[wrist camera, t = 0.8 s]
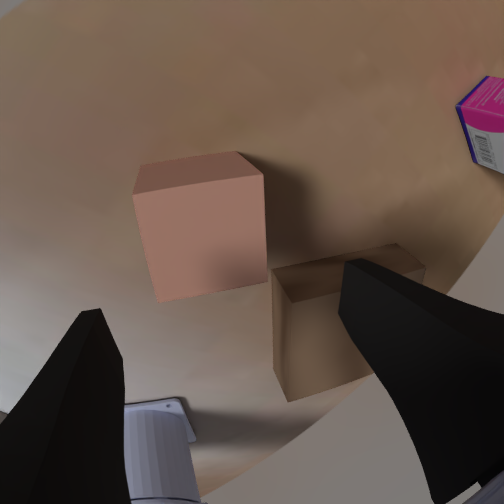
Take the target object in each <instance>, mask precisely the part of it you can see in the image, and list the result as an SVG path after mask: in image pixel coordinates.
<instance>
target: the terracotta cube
mask: <svg viewBox="0 0 504 504" xmlns="http://www.w3.org/2000/svg"><path fill="white" fill-rule="evenodd" d="M132 196H133V201H134V206H135V211H136V216H137V220H138V225H139V230H140V234H141V238H142V243H143V247H144V251H145V255H146V259H147V263H148V267H149V271H150V275H151V279H152V282H153V286H154V290H155V293H156V297H157V300H158V303H161V302H166V301H172V300H177V299H183V298H188V297H193V296H199V295H204V294H209V293H214V292H219V291H225V290H230V289H235V288H240V287H245V286H250V285H255V284H259V283H264V282H268V281H267V253H266V227H265V202H264V179H263V174H262V173H261V172H260V171H259V170H258V169H257V168H255V167H254V166H253V165H252V164H251V163H249V162H248V161H247V160H246V159H245V158H243V157H242V156H241V155H240V154H239V153H237V152H236V151H232V152H224V153H216V154H208V155H201V156H194V157H188V158H181V159H175V160H169V161H163V162H158V163H152V164H147V165H141V166H140V169H139V173H138V176H137V180H136V183H135V187H134V190H133V194H132Z"/></svg>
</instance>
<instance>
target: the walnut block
mask: <svg viewBox="0 0 504 504" xmlns="http://www.w3.org/2000/svg"><path fill="white" fill-rule="evenodd" d="M358 258H363V259H366V260H369V261H371V262H374V263H376V264H378V265H381V266H383V267H385V268H387V269H390V270H392V271H394V272H396V273H398V274H400V275H402V276H405V277H407V278H409V279H411V280H413V281H415V282H417V283H420V284H422V281H423V278H424V274H425V270H426V267H425V266H424V265H423V264H421V263H420V262H419V261H418V260H417V259H415V258H414V257H413V256H412V255H410V254H409V253H408V252H407V251H405V250H404V249H403V248H402V247H400V246H399V245H398V244H396V243H395V244H390V245H385V246H381V247H376V248H372V249H367V250H362V251H358V252H353V253H348V254H344V255H339V256H334V257H329V258H324V259H320V260H315V261H310V262H305V263H300V264H295V265H290V266H285V267H280V268H275V269H271V273H272V316H273V369H274V372H275V374H276V376H277V379H278V381H279V383H280V386H281V388H282V390H283V392H284V395H285V397H286V399H287V402H291V401H294V400H298V399H301V398H304V397H308V396H311V395H314V394H317V393H320V392H323V391H326V390H329V389H332V388H335V387H338V386H341V385H343V384H346V383H349V382H352V381H354V380H357V379H360V378H362V377H365V376H368V375H370V374H373V373H374V371H373V370H372V368H371V367H370V366H369V364H368V363H367V361H366V360H365V359H364V357H363V356H362V354H361V353H360V351H359V350H358V348H357V347H356V346H355V344H354V343H353V341H352V340H351V338H350V336H349V334H348V332H347V331H346V329H345V327H344V325H343V323H342V321H341V319H340V317H339V315H338V309H339V302H340V294H341V287H342V279H343V271H344V262H345V261H349V260H354V259H358Z"/></svg>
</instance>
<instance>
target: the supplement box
mask: <svg viewBox="0 0 504 504" xmlns="http://www.w3.org/2000/svg"><path fill="white" fill-rule="evenodd" d="M455 107H456V110H457V113H458V115H459V118H460V121H461V124H462V127H463V130H464V133H465V136H466V139H467V142H468V145H469V149H470V152H471V156H472V159H473V162H474V163H478V164H480V165H483V166H485V167H488V168H490V169H493V170H496V171H498V172H500V173H502V174H504V79H502V78H496V77H490V76H486V77H485V78H484V79H483V80H482V81H481V82H480V83H479V84H478V85H477V86H476V87H475V88H474V89H473V90H472V91H471V92H470V93H469V94H468V95H467V96H465V97H464V98H463V99H462V100H461V101H460V102H459V103H458V104H457V105H456V106H455Z"/></svg>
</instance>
